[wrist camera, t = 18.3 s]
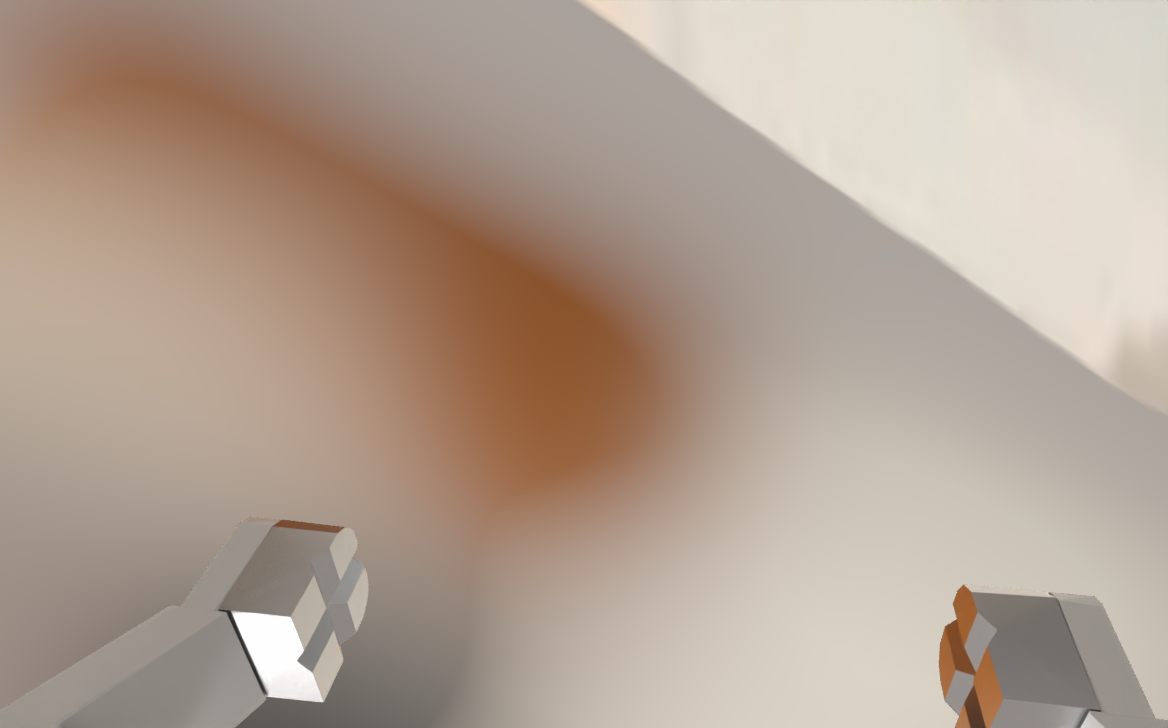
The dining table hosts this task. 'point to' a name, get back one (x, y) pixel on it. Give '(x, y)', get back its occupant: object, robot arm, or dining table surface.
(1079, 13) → the dining table surface
